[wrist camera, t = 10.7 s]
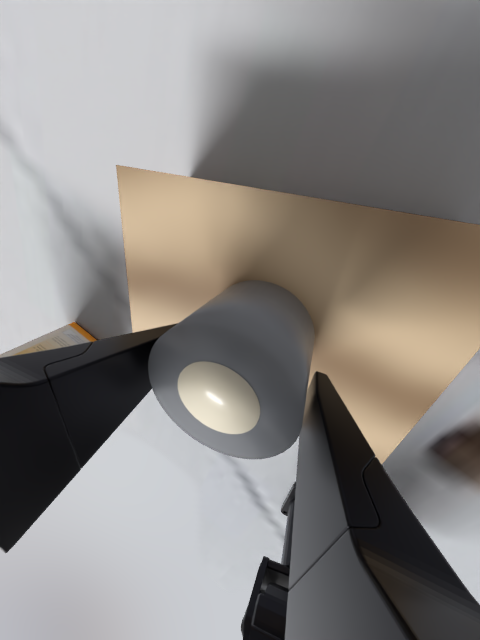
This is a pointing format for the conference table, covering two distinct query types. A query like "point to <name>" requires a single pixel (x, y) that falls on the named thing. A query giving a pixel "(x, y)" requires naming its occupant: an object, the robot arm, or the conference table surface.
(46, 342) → the supplement box
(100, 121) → the conference table surface
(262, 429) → the grey cylinder cream end
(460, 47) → the conference table surface
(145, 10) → the conference table surface
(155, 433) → the conference table surface
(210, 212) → the lid
